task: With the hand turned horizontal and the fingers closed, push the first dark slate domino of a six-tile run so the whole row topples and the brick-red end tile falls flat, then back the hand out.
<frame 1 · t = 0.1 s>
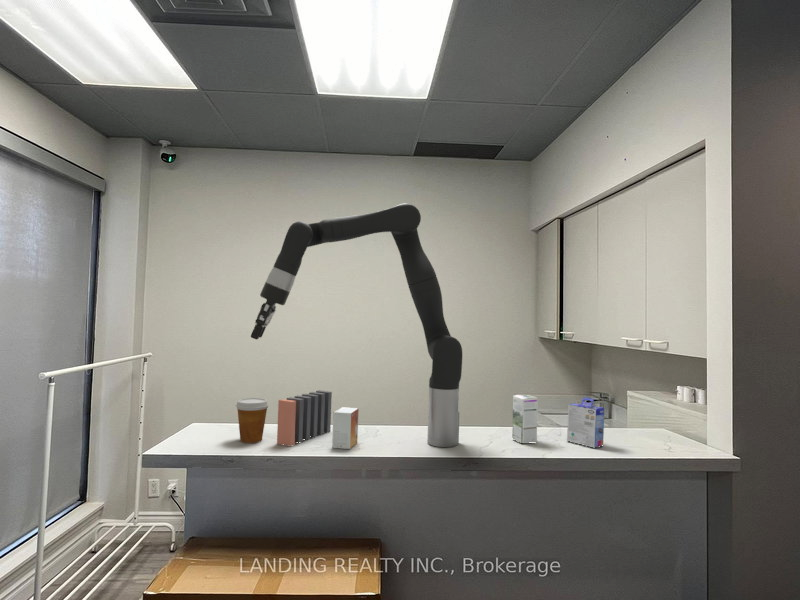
hand: (255, 337, 143), 31 cm above the countertop, tool tilted 20°, fingers open, 8 cm apart
domino 3: (308, 436, 155), on the countertop
domino 2: (315, 433, 159), on the countertop
domino 4: (301, 438, 152), on the countertop
domino 6: (285, 444, 145), on the countertop
disposable coffee cup: (251, 441, 148), on the countertop
domino 1: (322, 430, 162), on the countertop
domino 5: (293, 441, 148), on the countertop
syrup box: (524, 442, 157), on the countertop
small box: (345, 446, 146), on the countertop
ink cartridge box: (585, 445, 156), on the countertop
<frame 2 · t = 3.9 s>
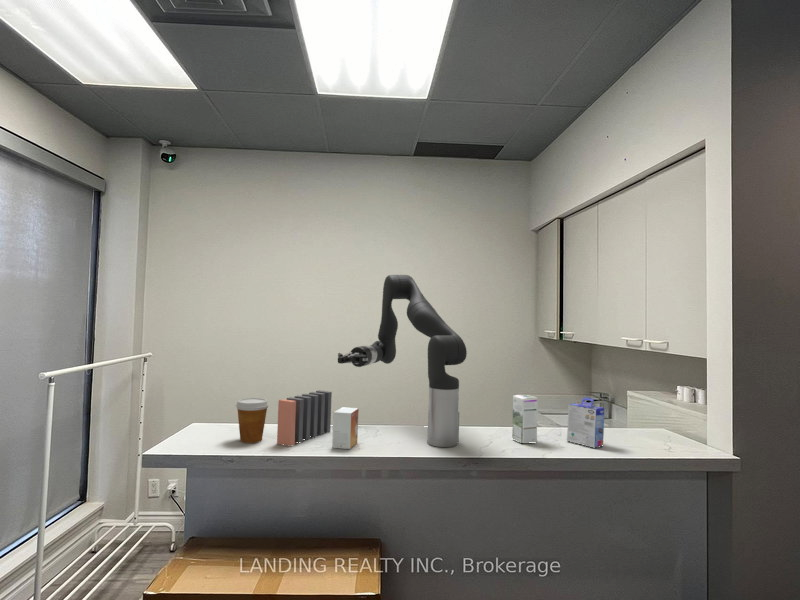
hand: (339, 360, 171), 22 cm above the countertop, tool horizontal, fingers closed
nothing on the countertop moved.
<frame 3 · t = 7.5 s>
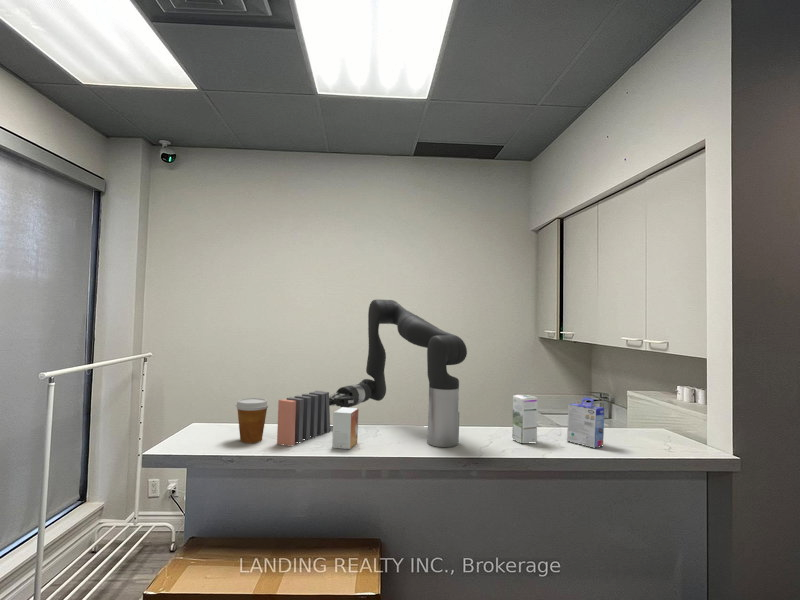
hand: (323, 403, 162), 9 cm above the countertop, tool horizontal, fingers closed
domino 1: (322, 430, 162), on the countertop, tilted 7°
everything else where it was.
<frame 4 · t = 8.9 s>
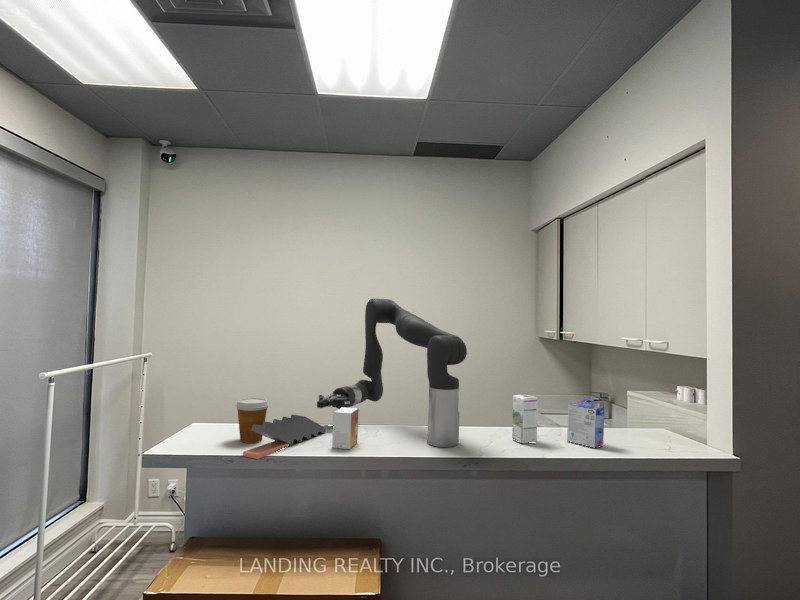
hand: (319, 404, 160), 9 cm above the countertop, tool horizontal, fingers closed
domino 3: (304, 435, 153), point 1 cm above the countertop, tilted 63°, touching domino 2, domino 4
domino 2: (311, 432, 157), point 1 cm above the countertop, tilted 63°, touching domino 1, domino 3
domino 4: (295, 437, 149), point 1 cm above the countertop, tilted 62°, touching domino 3, domino 5
domino 6: (281, 445, 144), on the countertop, tilted 90°, touching domino 5
domino 1: (318, 429, 160), point 1 cm above the countertop, tilted 63°, touching domino 2
domino 5: (286, 440, 146), point 1 cm above the countertop, tilted 63°, touching domino 4, domino 6
everything else where it was.
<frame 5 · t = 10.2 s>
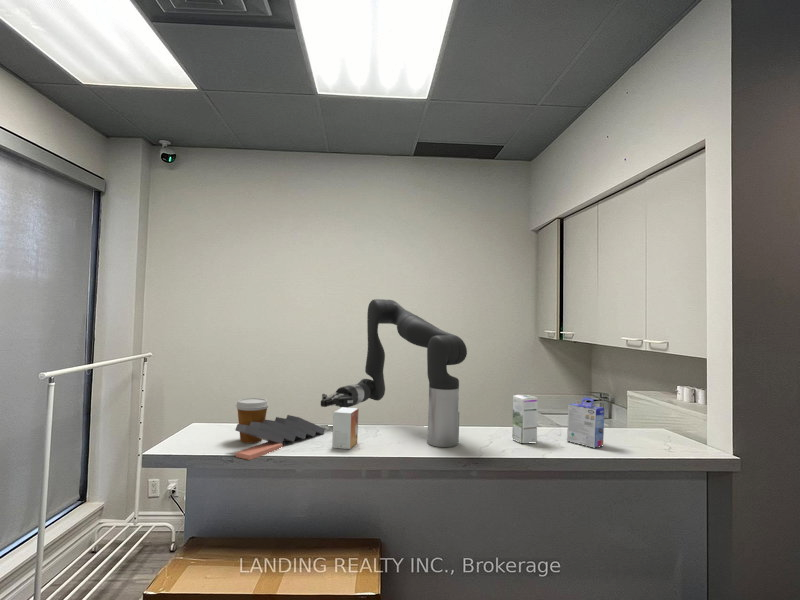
hand: (322, 403, 162), 9 cm above the countertop, tool horizontal, fingers closed
domino 3: (300, 435, 152), point 1 cm above the countertop, tilted 64°, touching domino 2, domino 4
domino 2: (310, 432, 156), point 1 cm above the countertop, tilted 64°, touching domino 1, domino 3
domino 4: (289, 437, 148), point 1 cm above the countertop, tilted 65°, touching domino 3, domino 5
domino 6: (275, 445, 143), on the countertop, tilted 90°, touching domino 5
domino 5: (278, 440, 144), point 1 cm above the countertop, tilted 65°, touching domino 4, domino 6
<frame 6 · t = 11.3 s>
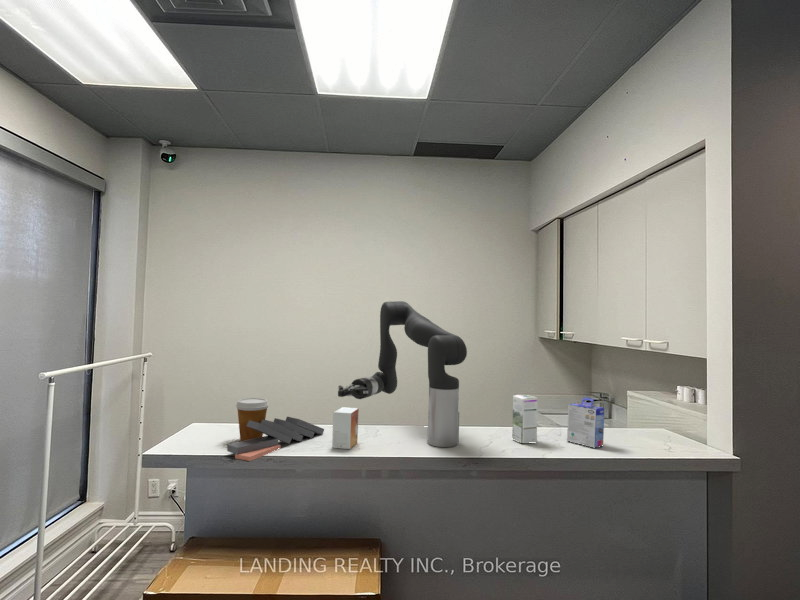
hand: (340, 393, 171), 11 cm above the countertop, tool horizontal, fingers closed
domino 3: (296, 437, 150), point 1 cm above the countertop, tilted 62°, touching domino 2, domino 4
domino 2: (307, 434, 155), point 1 cm above the countertop, tilted 64°, touching domino 1, domino 3
domino 4: (285, 439, 146), point 1 cm above the countertop, tilted 62°, touching domino 3, domino 5
domino 5: (272, 440, 142), point 2 cm above the countertop, tilted 90°, touching domino 4, domino 6
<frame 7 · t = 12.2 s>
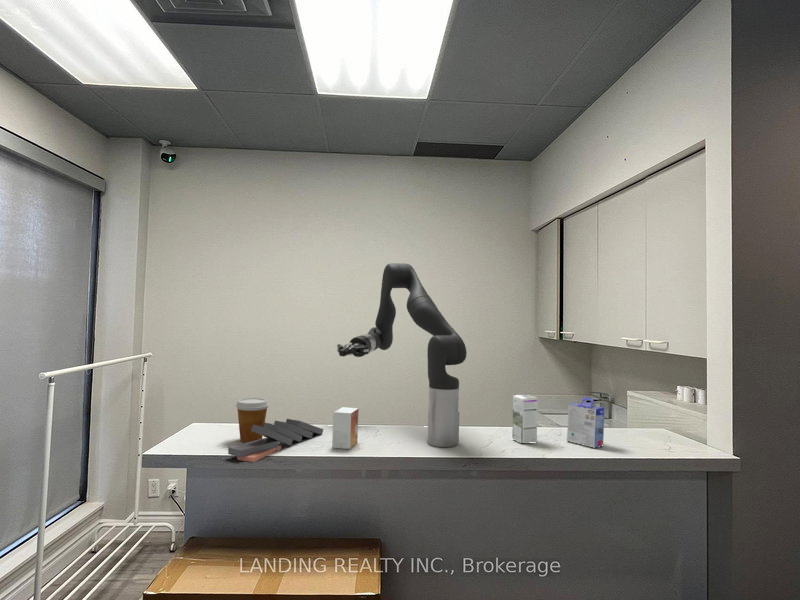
hand: (341, 353, 169), 25 cm above the countertop, tool horizontal, fingers closed
domino 3: (294, 437, 149), point 1 cm above the countertop, tilted 64°, touching domino 2, domino 4
domino 4: (285, 440, 144), point 1 cm above the countertop, tilted 64°, touching domino 3, domino 5
domino 5: (272, 442, 140), point 2 cm above the countertop, tilted 90°, touching domino 4, domino 6
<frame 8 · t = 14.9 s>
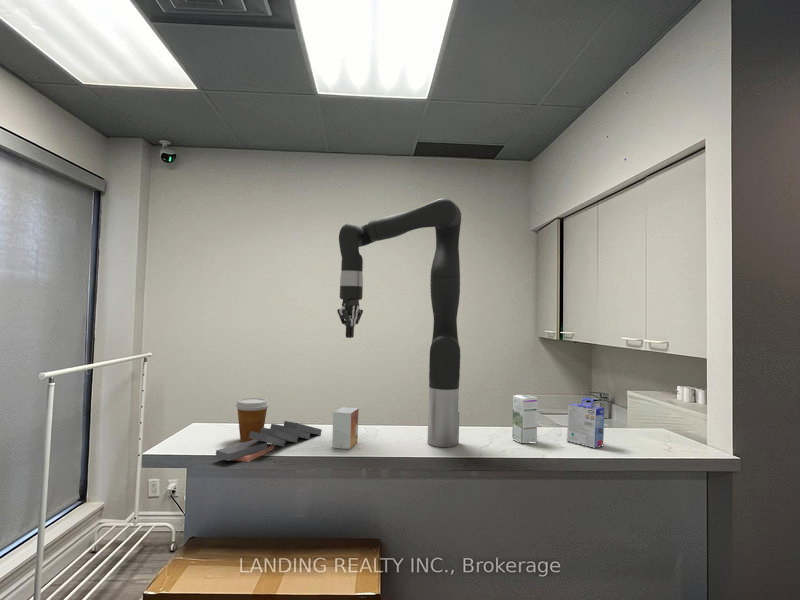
hand: (349, 337, 162), 31 cm above the countertop, tool pointing down, fingers closed
domino 3: (290, 438, 148), point 1 cm above the countertop, tilted 69°, touching domino 2, domino 4
domino 2: (303, 435, 153), point 1 cm above the countertop, tilted 69°, touching domino 1, domino 3
domino 4: (277, 441, 144), point 1 cm above the countertop, tilted 69°, touching domino 3, domino 5, domino 6
domino 6: (266, 446, 141), on the countertop, tilted 90°, touching domino 4
domino 5: (260, 444, 137), point 2 cm above the countertop, tilted 90°, touching domino 4
at the end: domino 6 tilted 90°; domino 1 tilted 70° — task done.
